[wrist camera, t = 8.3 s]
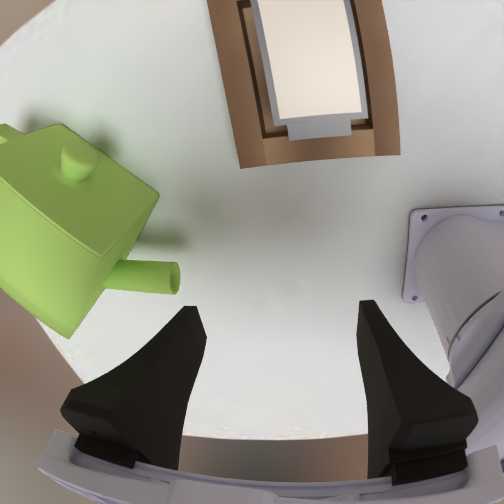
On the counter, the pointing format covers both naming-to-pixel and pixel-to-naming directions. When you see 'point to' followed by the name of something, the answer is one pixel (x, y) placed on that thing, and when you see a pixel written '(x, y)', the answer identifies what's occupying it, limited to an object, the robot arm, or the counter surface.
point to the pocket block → (258, 103)
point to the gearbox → (70, 226)
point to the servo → (311, 65)
